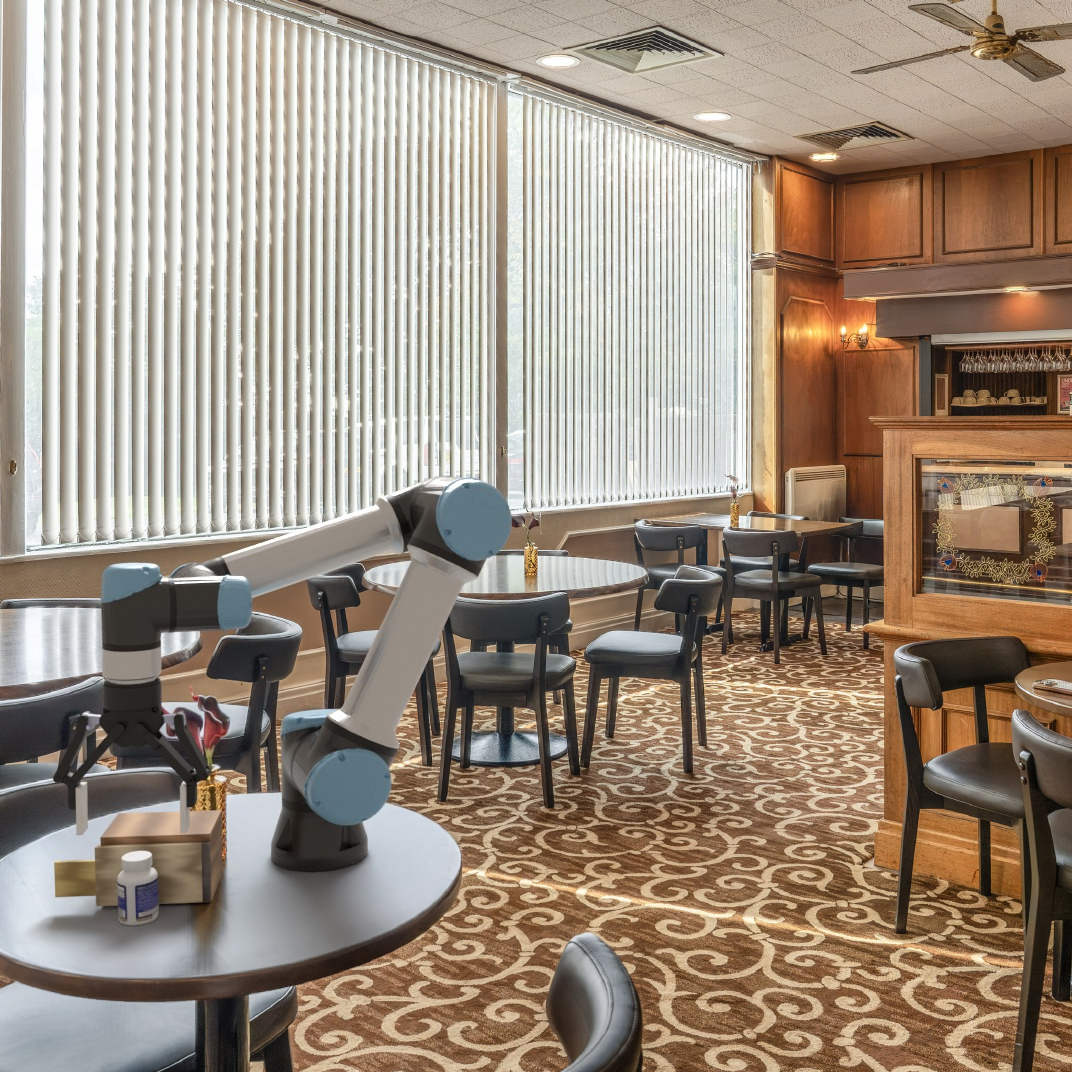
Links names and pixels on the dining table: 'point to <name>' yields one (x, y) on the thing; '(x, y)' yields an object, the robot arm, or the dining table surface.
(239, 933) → the dining table surface
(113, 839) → the case
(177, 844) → the door
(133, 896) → the pill bottle
